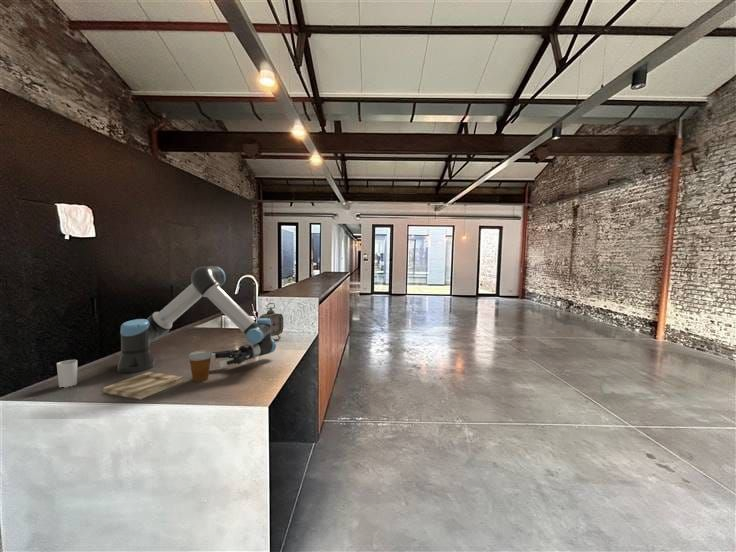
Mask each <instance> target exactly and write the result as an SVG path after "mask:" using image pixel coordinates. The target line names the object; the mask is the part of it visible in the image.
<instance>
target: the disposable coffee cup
mask: <svg viewBox="0 0 736 552" xmlns="http://www.w3.org/2000/svg"><path fill="white" fill-rule="evenodd" d="M212 354H213V353H212V352H211V351H210V350H197V351H193V352H191V353H189V355H188V360H189V365H190V370H191V377H192V381H193V382H195V383H196V382H204V381H207V380H208V379H209V376H210V366H211V360H210V359H211V356H212Z"/></svg>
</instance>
